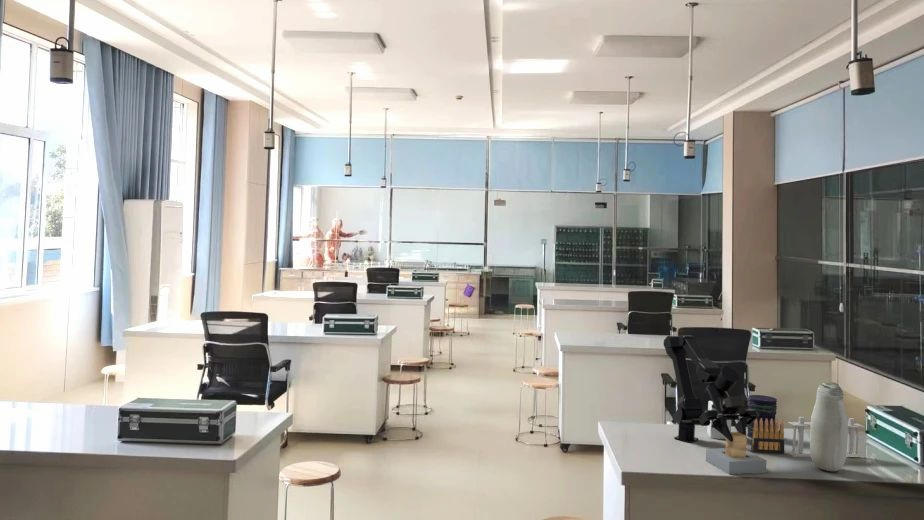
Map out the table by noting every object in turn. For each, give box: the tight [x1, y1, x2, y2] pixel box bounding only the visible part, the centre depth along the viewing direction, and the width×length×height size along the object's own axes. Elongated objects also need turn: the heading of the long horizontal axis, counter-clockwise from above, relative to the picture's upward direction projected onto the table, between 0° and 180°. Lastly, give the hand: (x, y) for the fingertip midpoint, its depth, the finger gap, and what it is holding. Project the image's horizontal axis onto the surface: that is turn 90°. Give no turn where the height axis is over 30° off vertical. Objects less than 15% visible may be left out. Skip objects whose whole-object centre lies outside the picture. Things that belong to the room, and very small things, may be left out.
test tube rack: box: [786, 416, 866, 458], centre depth 229 cm, size 25×4×13 cm, turn 92°
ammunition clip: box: [750, 418, 785, 455], centre depth 230 cm, size 11×2×12 cm, turn 87°
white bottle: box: [809, 382, 849, 472], centre depth 213 cm, size 10×10×28 cm
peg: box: [725, 431, 748, 458], centre depth 213 cm, size 4×4×9 cm
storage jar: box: [746, 394, 778, 439], centre depth 249 cm, size 10×10×15 cm
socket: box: [705, 447, 767, 475], centre depth 213 cm, size 13×13×4 cm
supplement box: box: [706, 400, 732, 440], centre depth 249 cm, size 7×7×13 cm
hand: (738, 441), depth 212 cm, fingers closed on peg, 4 cm apart
